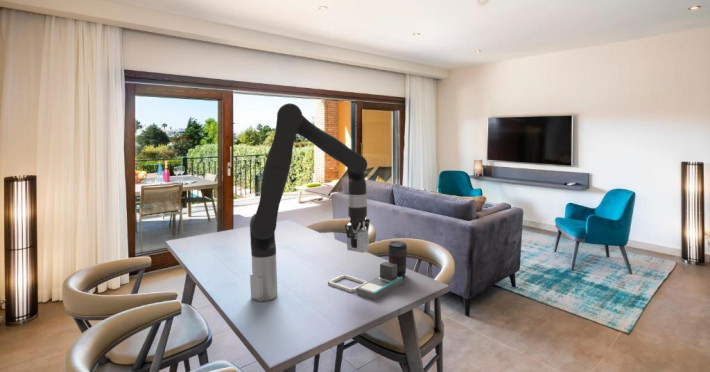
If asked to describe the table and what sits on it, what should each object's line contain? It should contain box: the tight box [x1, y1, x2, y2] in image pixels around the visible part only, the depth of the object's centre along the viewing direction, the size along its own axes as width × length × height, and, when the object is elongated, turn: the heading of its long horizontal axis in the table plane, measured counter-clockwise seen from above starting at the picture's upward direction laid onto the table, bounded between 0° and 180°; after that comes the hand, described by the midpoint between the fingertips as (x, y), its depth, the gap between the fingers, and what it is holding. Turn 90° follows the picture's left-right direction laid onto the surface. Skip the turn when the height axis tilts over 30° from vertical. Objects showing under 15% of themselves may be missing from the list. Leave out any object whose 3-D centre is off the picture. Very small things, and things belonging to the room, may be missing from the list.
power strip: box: [356, 261, 404, 301], centre depth 149 cm, size 20×9×9 cm, turn 141°
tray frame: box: [327, 274, 369, 294], centre depth 154 cm, size 11×14×1 cm
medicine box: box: [346, 228, 370, 254], centre depth 148 cm, size 8×4×9 cm, turn 59°
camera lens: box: [387, 240, 408, 278], centre depth 162 cm, size 8×8×15 cm
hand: (358, 245), depth 149 cm, fingers closed on medicine box, 4 cm apart
